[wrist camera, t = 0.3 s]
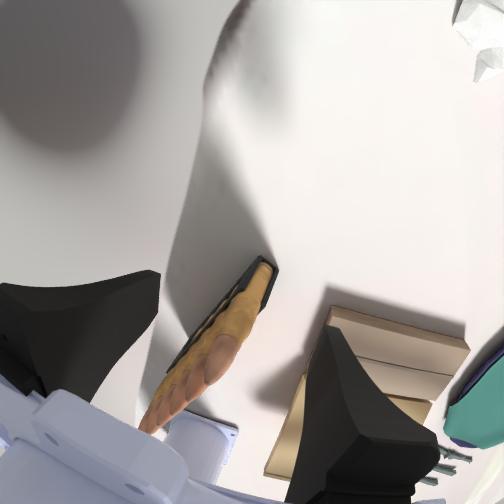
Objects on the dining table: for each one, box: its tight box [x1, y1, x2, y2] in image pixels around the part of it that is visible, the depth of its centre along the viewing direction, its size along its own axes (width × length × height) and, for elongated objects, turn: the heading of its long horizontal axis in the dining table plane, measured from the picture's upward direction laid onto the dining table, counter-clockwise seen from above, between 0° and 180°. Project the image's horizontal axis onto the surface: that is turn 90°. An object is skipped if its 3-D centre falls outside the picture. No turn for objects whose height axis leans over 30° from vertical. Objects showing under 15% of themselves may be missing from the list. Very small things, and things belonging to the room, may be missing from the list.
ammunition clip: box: [138, 256, 279, 435], centre depth 18 cm, size 11×2×12 cm, turn 144°
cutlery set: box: [419, 346, 504, 486], centre depth 22 cm, size 20×30×2 cm, turn 151°
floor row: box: [306, 305, 471, 401], centre depth 21 cm, size 6×13×2 cm, turn 77°
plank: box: [263, 374, 432, 482], centre depth 22 cm, size 11×13×2 cm
